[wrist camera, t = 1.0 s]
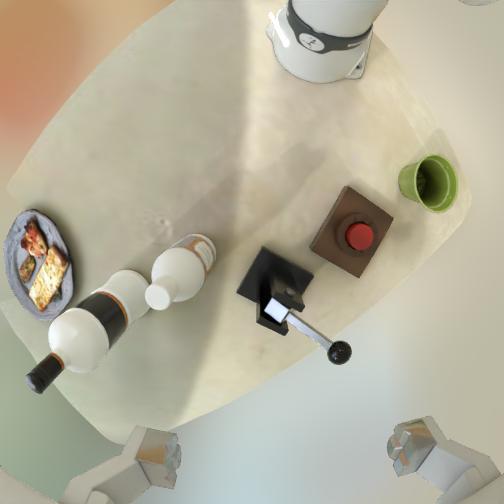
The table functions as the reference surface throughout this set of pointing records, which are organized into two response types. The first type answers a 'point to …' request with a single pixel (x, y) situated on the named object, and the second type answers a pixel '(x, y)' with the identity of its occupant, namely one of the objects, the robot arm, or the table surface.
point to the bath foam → (180, 271)
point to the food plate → (38, 265)
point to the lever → (310, 332)
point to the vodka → (91, 328)
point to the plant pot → (430, 183)
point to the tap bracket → (274, 286)
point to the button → (360, 236)
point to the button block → (337, 224)
